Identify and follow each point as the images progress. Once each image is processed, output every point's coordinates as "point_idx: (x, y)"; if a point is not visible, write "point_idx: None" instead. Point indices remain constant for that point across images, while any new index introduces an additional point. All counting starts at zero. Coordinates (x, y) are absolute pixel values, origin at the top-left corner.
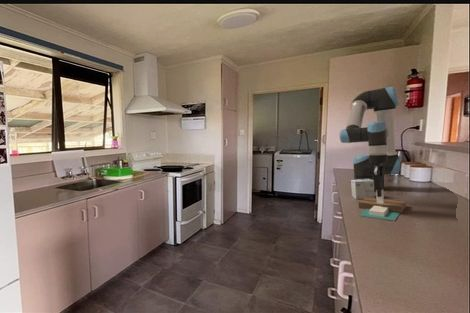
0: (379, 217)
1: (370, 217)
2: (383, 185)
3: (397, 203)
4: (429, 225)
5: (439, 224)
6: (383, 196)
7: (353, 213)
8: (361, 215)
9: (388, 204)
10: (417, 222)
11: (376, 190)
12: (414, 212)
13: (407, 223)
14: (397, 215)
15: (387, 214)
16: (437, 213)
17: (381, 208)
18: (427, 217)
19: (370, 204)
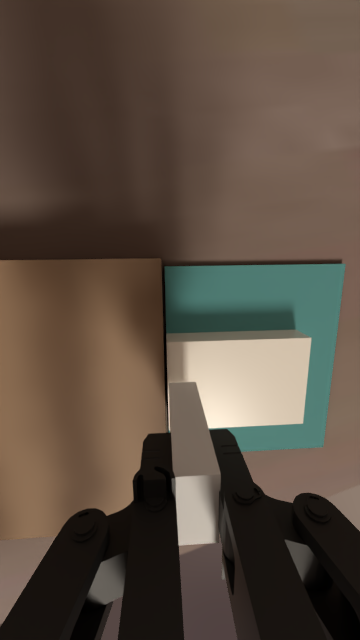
0: (320, 348)
1: (328, 389)
2: (102, 541)
3: (60, 301)
4: (348, 65)
5: (303, 2)
6: (177, 416)
7: (285, 479)
8: (320, 435)
9: (127, 353)
10: (315, 140)
11: (216, 528)
12: (90, 184)
13: (356, 192)
14: (236, 268)
15: (240, 324)
16: (27, 22)
17: (222, 373)
18: (174, 88)
19: None
